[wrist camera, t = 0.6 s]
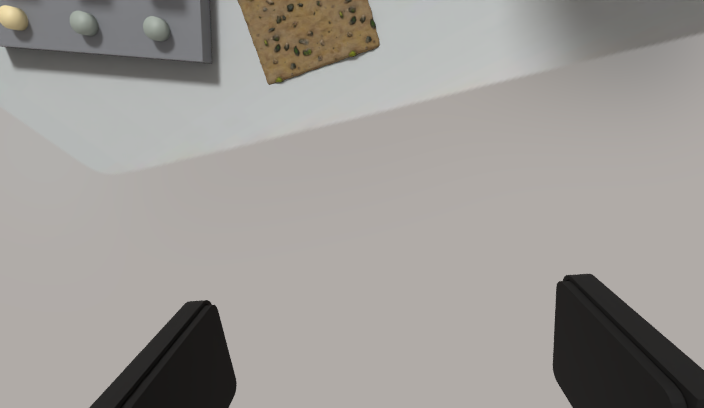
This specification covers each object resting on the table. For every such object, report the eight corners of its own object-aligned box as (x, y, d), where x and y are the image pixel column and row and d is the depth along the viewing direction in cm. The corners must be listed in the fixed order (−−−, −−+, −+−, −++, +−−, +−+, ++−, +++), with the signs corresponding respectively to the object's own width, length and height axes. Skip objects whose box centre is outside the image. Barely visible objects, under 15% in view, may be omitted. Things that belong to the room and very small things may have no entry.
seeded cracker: (222, -41, 34) (217, -45, 33) (343, -92, 32) (342, -98, 31) (268, 87, 37) (265, 86, 36) (381, 47, 35) (382, 46, 34)
